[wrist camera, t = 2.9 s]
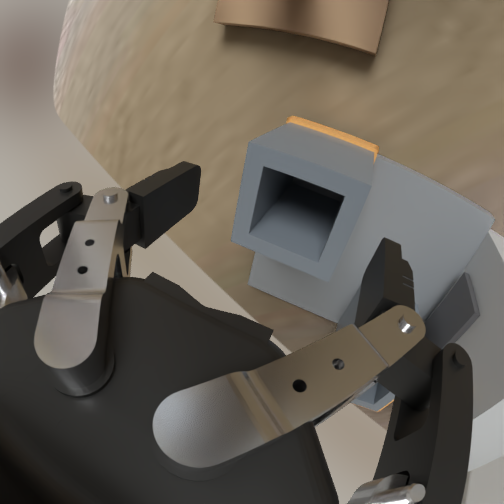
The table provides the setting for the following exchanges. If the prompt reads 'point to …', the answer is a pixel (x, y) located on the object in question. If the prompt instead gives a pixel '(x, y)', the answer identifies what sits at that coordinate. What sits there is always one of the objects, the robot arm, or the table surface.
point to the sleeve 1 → (303, 194)
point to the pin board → (312, 19)
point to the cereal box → (485, 484)
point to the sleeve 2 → (377, 394)
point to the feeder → (421, 279)
